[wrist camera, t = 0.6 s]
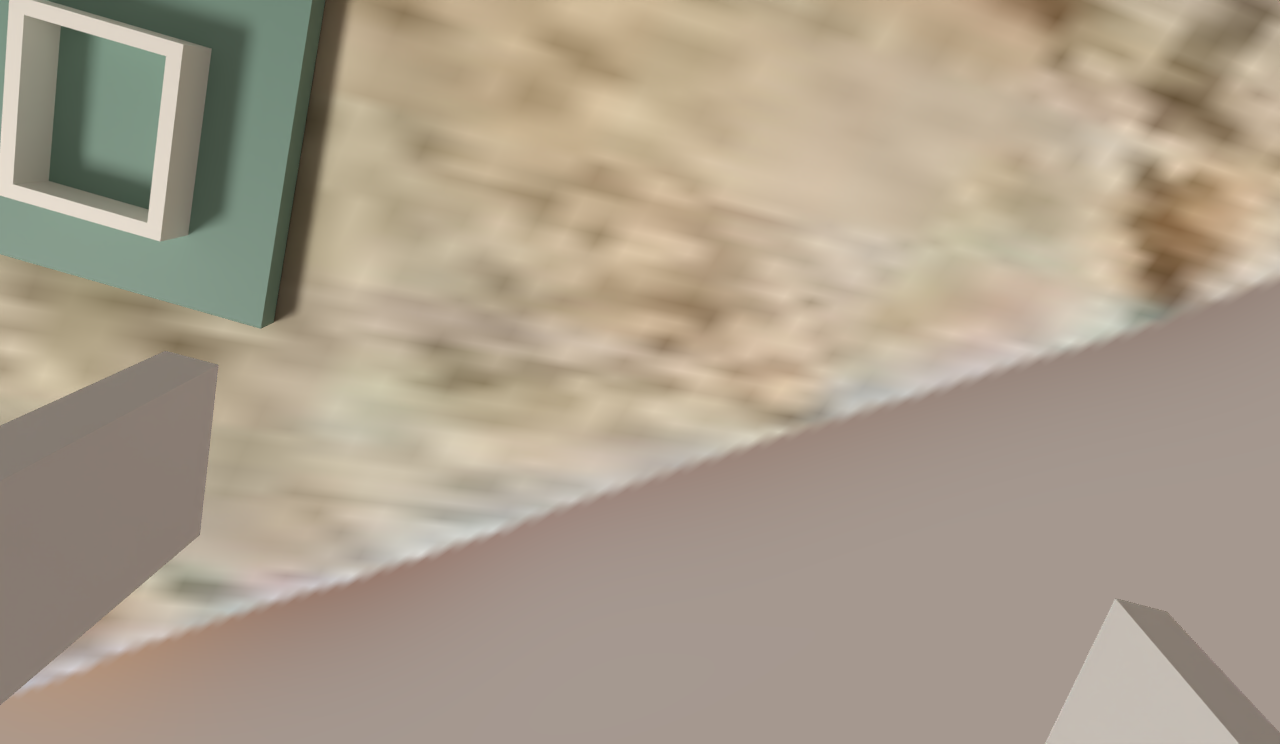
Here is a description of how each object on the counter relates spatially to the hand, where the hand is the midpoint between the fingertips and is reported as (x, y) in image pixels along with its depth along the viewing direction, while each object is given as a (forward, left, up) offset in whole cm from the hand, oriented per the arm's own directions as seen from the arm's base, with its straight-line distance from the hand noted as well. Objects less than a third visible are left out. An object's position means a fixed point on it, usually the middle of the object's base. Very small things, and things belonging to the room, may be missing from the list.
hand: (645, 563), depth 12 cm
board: (-5, -24, -26) cm, 35 cm away
